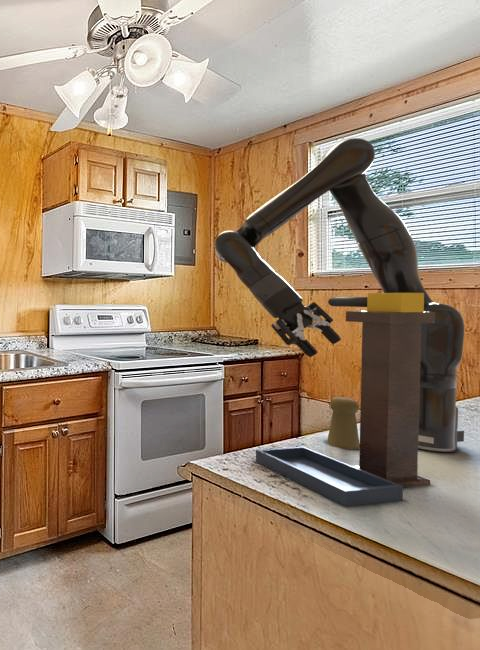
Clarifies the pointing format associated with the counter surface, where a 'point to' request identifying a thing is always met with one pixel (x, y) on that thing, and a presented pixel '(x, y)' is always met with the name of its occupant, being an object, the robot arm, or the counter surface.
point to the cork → (344, 424)
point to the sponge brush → (383, 302)
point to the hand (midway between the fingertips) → (325, 348)
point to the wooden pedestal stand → (390, 394)
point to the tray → (330, 476)
